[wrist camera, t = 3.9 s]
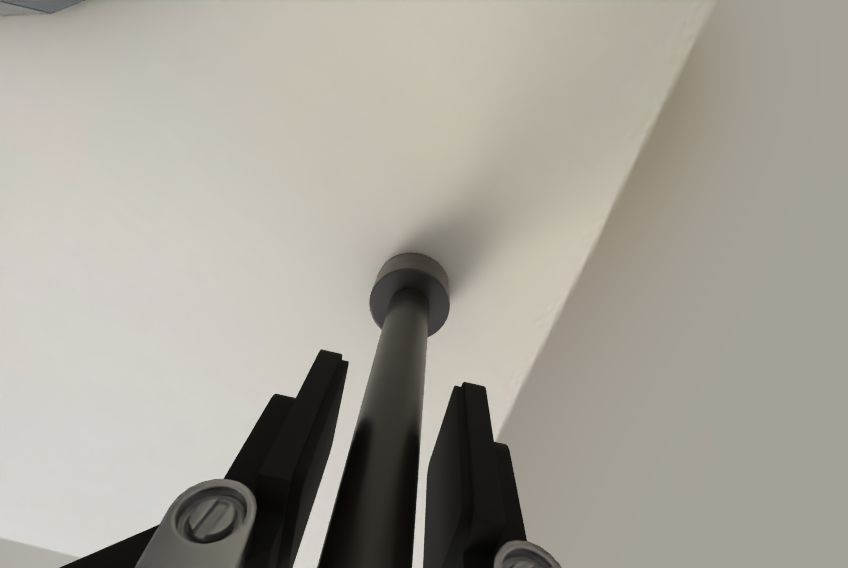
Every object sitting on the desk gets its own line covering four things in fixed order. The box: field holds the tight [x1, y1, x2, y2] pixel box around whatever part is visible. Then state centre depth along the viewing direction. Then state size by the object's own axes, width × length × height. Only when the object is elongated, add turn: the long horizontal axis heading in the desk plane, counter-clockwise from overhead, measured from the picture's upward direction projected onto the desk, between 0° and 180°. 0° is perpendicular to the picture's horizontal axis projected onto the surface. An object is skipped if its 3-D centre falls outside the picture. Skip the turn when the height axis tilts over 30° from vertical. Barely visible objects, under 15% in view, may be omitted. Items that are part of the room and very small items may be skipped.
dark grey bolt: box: [317, 253, 450, 568], centre depth 12 cm, size 3×3×14 cm
